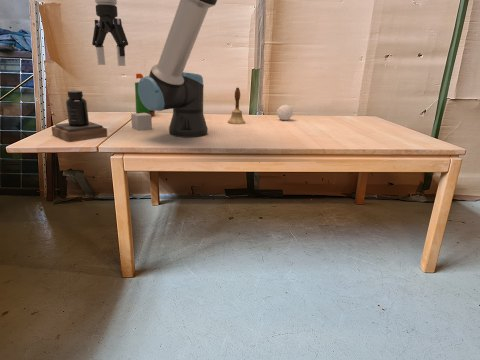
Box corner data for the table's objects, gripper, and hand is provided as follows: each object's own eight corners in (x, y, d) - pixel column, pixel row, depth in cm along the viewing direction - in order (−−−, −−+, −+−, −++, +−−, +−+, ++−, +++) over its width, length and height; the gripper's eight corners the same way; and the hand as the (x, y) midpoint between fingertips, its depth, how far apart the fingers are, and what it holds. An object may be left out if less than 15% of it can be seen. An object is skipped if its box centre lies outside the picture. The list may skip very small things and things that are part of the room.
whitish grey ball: (288, 118, 188) (289, 103, 185) (295, 121, 181) (296, 105, 178) (273, 119, 185) (274, 103, 182) (280, 121, 178) (281, 105, 176)
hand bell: (248, 123, 171) (250, 88, 166) (232, 124, 167) (233, 88, 162) (240, 120, 178) (241, 86, 173) (224, 121, 174) (225, 86, 169)
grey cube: (132, 128, 153) (131, 113, 151) (145, 127, 156) (144, 112, 154) (138, 130, 148) (137, 115, 146) (152, 129, 152) (151, 114, 150)
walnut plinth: (107, 136, 136) (106, 125, 135) (69, 141, 127) (67, 130, 125) (89, 130, 145) (88, 120, 144) (52, 135, 135) (51, 124, 134)
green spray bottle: (156, 117, 179) (154, 74, 173) (137, 117, 176) (135, 74, 169) (153, 113, 188) (151, 73, 182) (135, 114, 185) (132, 72, 178)
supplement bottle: (75, 122, 138) (71, 90, 134) (92, 123, 137) (89, 90, 133) (64, 126, 132) (60, 91, 128) (82, 127, 131) (79, 92, 127)
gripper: (78, 6, 141) (85, 64, 147) (116, 1, 126) (122, 66, 133) (96, 8, 146) (102, 64, 153) (135, 3, 131) (139, 66, 138)
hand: (111, 65), depth 143 cm, fingers open, 13 cm apart
